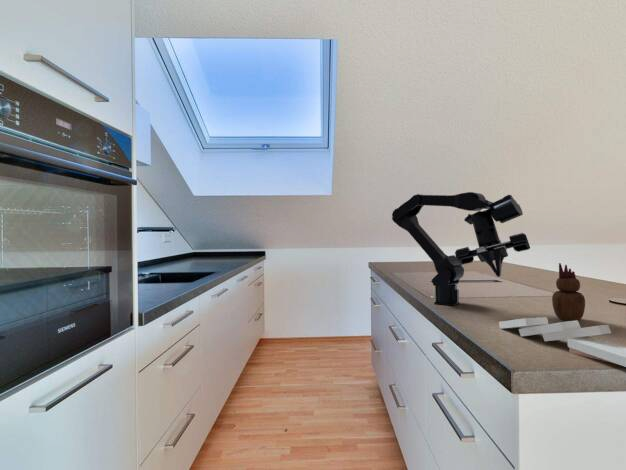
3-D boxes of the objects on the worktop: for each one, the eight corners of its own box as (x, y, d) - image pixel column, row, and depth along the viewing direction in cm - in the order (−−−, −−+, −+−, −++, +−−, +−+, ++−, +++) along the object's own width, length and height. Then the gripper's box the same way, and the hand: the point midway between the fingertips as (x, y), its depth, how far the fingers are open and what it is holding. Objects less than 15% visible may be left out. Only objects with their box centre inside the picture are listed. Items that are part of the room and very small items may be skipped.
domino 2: (518, 329, 74) (560, 322, 65) (534, 327, 75) (577, 320, 66) (521, 336, 73) (563, 330, 64) (537, 334, 75) (580, 328, 66)
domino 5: (567, 338, 64) (626, 357, 54) (587, 336, 65) (648, 354, 55) (567, 346, 64) (626, 367, 54) (588, 344, 65) (649, 363, 55)
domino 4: (569, 347, 63) (641, 363, 55) (577, 341, 66) (646, 355, 58) (569, 355, 63) (641, 372, 55) (577, 349, 66) (647, 364, 58)
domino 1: (498, 321, 80) (524, 318, 71) (517, 320, 80) (546, 317, 71) (500, 328, 80) (526, 325, 70) (519, 327, 80) (548, 324, 71)
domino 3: (541, 333, 69) (597, 325, 61) (552, 332, 71) (607, 324, 63) (544, 341, 68) (601, 334, 60) (555, 340, 71) (611, 333, 63)
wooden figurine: (555, 320, 85) (553, 263, 85) (550, 315, 90) (549, 261, 90) (588, 323, 81) (586, 264, 81) (581, 318, 87) (580, 262, 86)
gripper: (524, 232, 98) (541, 279, 90) (460, 248, 108) (470, 292, 100) (518, 214, 91) (536, 263, 83) (450, 233, 101) (460, 279, 92)
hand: (498, 276), depth 90 cm, fingers closed
